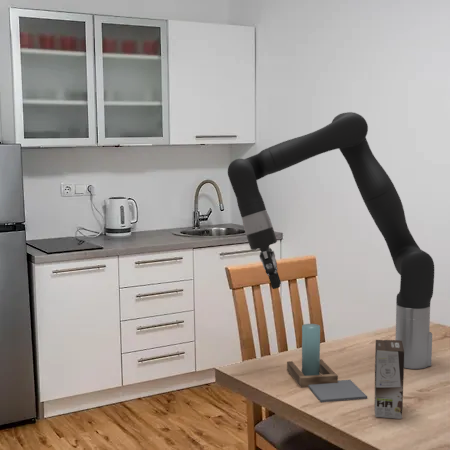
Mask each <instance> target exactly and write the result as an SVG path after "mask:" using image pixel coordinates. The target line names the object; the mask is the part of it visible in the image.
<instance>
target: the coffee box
mask: <svg viewBox="0 0 450 450" xmlns="http://www.w3.org/2000/svg"><path fill="white" fill-rule="evenodd" d="M404 352H405V351H404V347H403V343H402V341H400V340H395V339H375V352H374V353H375V354H374V355H375V356H374V417H375V418H385V419H397V420H401V419H403V404H404V403H403V402H404V401H403V399H404V379H405V378H404V375H405V372H404V371H405V368H404Z"/></svg>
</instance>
